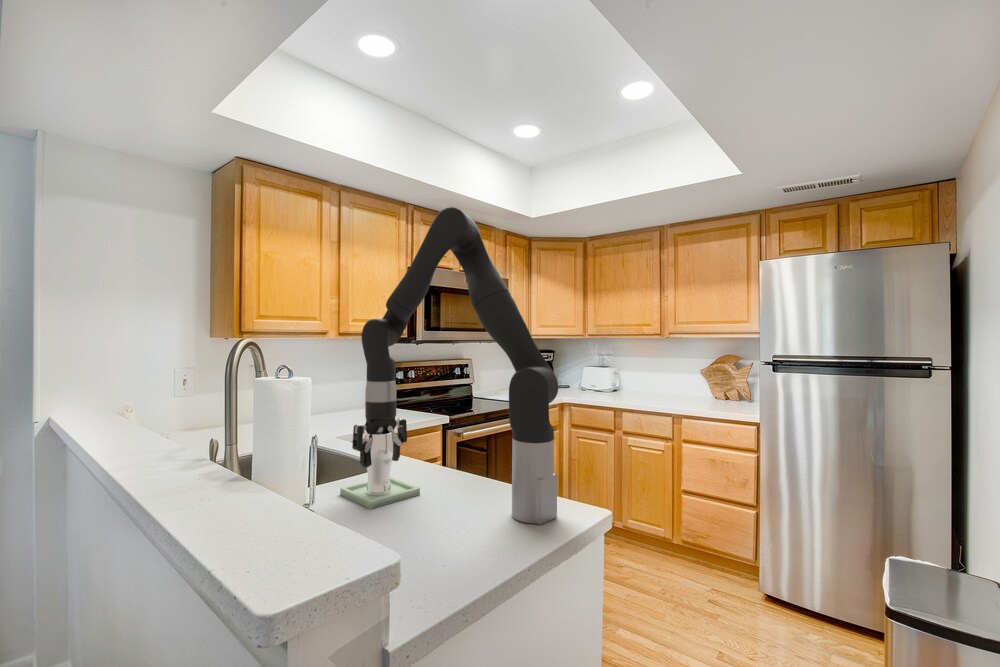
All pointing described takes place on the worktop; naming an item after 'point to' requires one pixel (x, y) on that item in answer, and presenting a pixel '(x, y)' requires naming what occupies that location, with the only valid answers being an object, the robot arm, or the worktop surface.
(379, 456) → the beer glass
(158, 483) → the worktop surface
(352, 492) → the tray
